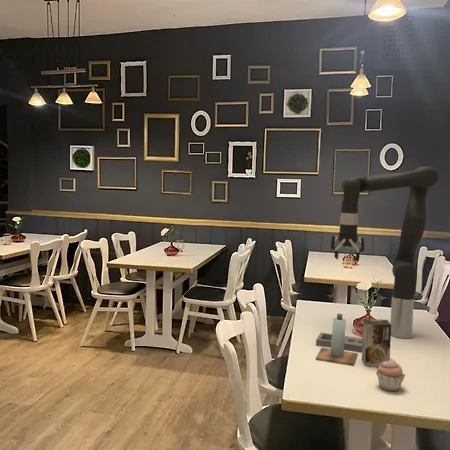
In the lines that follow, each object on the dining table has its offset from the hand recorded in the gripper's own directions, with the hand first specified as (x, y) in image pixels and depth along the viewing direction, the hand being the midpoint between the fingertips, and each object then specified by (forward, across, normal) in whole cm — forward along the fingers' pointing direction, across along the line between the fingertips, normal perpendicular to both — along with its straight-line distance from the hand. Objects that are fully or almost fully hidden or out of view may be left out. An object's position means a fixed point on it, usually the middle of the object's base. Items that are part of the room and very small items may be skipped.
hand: (346, 259), depth 210 cm
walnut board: (+33, +2, -32) cm, 46 cm away
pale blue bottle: (+32, +2, -32) cm, 45 cm away
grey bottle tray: (+33, +2, -17) cm, 37 cm away
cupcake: (+33, +22, -52) cm, 66 cm away
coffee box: (+33, +16, -32) cm, 49 cm away
